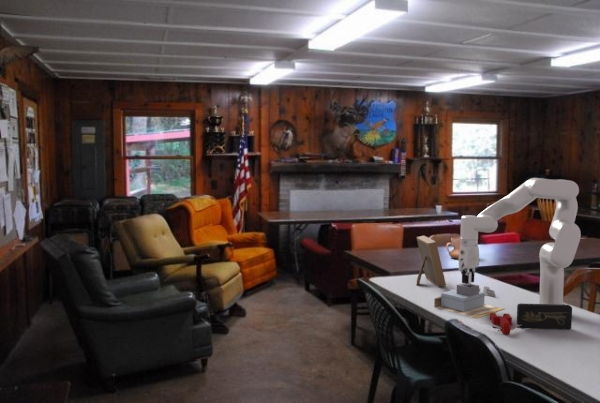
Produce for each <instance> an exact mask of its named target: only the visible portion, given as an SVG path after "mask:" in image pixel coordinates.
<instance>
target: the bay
mask: <svg viewBox="0 0 600 403" xmlns="http://www.w3.org/2000/svg"><path fill="white" fill-rule="evenodd" d="M433 301H434V305H433V306H434V308H436V309H441V310H444V311H448V312H452V313H455V314H460V315H464V316H467V317H469V318H470V317H471V318H474V319H479V318H482V317H484V316H488V315H490V313H496V312H500V311H503V310H505V308H503V307H499V306H498V307H497V306H494V305H490V304H485V303H484V306H481V307H477V308H474V309H471V310H468V311H464V312H463V311H459V310H455V309H451V308H448V307H444V306H441V296H438V297H434V300H433ZM468 320H469V319H468ZM469 321H470V320H469Z"/></svg>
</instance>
